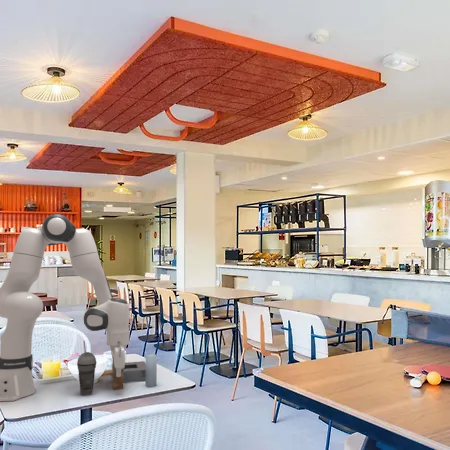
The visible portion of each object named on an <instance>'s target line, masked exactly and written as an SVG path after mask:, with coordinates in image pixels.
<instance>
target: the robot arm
mask: <svg viewBox="0 0 450 450" xmlns="http://www.w3.org/2000/svg"><path fill="white" fill-rule="evenodd" d="M61 244H63V245H65V246H66V248H67V250H68V254H69V258H70V263H71V264H70V265H71V267H72V269H73V272H74V273H75V275H77V276H78V277H79V278H81V279H84V280H87V281H88V282H89V283H90V284H91V286H92V288H93V291H94V293H95V296H96V300H97V304H98V305H96V306H93V307H91V308H89V309H87V310H86V311H85V313H84V315H83V323H84V326H85V328H86V329H87V330H89V331H91V332H99V331H104V330H105V331H106V345H107V346H109V349H110V351H111V352H110V355H111V358H112V360H113V358H114V366H115V369H116V377H120V376H121V369H123V368H124V367H125V363H126V362H125V361H126V357H125V354H126V352H125V349H127V345H129V344H130V327H129V326H130V324H129V323H130V316H131V315H130V307H129V302H128V301H127V300H125V299H123V298H118V297H113V294H112V290H111V287H110V284H109V281H108V279H107V276H106V273H105V271H104V268H103V265H102V263H101V260H100V256H99V251H98V247H97V244H96V242H95V239H94V236H93V235H92V232H91V231H90V229H86V228H77V227H76V226H75V225H74V224H73V223H72V222H71V220H69V219H68V218H67V217H66V216H65V215H63V214H60V213H59V214H58V213H55V214H53V213H52V214H51V215H49V216H47V217H46V218H45V219H44V221H43V223H42V226H41V227H38V228H35V227H28V228H25V229H23V230H22V231H20V233H19V236H18V238H17V240H16V242H15V246H14V249H13V253H12V257H11V261H10V265H9V269H8V271H7V274H6V277H5V279H4V281H3V283H2V284H1V287H0V317H1V318H3V319H6V320H7V322H6V324H5V325H6V326H5V330H4V332H3V333H2V334H1V336H0V402H15V401H17V400H19V399H22V398H25V397H29V396H31V395H33V394H35V392H36V388H35V383H34V377H33V367H34V358H33V357H34V356H33V353H32V351H33V349H32V345H33V343H32V342H33V341H32V340H33V333H34V328H35V324H36V322H37V320H38V319H39V317H40V316H41V315H42V313H43V311H44V303H43V300H42V299H41V297H39V296H38V295H36V294H34V293H33V292H29V291H30V289H31V287H32V285H34V283H35V282H36V281H37V280H38V278H39V276H40V272H41V270H42V269H41V268H42V264H43V259H44V254H45V251H46V248H47V246H57V245H61ZM119 356H121V357H119Z"/></svg>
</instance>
